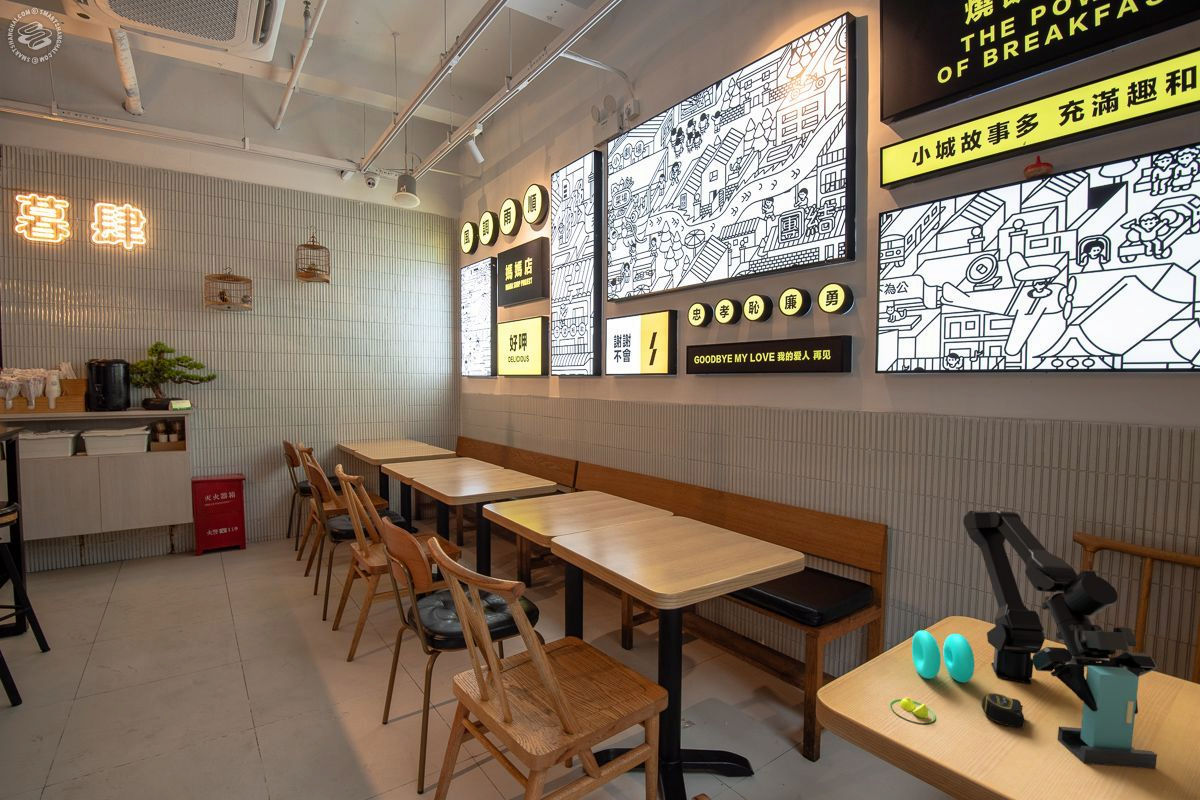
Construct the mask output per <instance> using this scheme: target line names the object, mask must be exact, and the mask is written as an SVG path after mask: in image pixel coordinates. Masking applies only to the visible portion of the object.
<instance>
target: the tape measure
mask: <svg viewBox="0 0 1200 800" xmlns="http://www.w3.org/2000/svg"><path fill="white" fill-rule="evenodd" d="M1023 707H1024V705H1022V703H1021V701H1020V700H1019V699H1016V698H1010V697H1008V696H1006V695H1003V694H1000V693H996V692H990V693H988V692H987V693H986V694H985V695H984V696H983V698H982V701H981V708H982V711H983V712H984V714H985V716H987V718H989V719H991V720H992V721H994V722H996V723H999V724H1001V725H1005V726H1011V727H1014V728H1015V727H1016V728H1023V727H1024V726H1025V715H1024V713H1023Z"/></svg>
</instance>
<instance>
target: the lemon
mask: <svg viewBox="0 0 1200 800" xmlns="http://www.w3.org/2000/svg"><path fill="white" fill-rule="evenodd" d="M899 701H900V702H899ZM898 702H899V707H900V708H901V709H902V708H903V710H904V711H907V712H912V713H913V714H914V715H915V716H917V718H922V719H923V718H924V719H928V718H929V716H928V714H929V713H930V714H931V715H932V720H931V721H929V722H928V724H930V723H933V722H934V721H935V720H936V714H935V713H934V711H932V710H931V709H930V708H929V707H928V706H927V705H926V704H925V703H922V704H921V703H920V702H917V701H914V700H912V699H911V698H910V697H909V696H907V697H904V698H901V699H895V700H892V701H891V702H890V708H891V710H892V711H893V712H894V713H895V715H898V713H897V712H896V711H895V710H894V708H893V709H892V707H893V706H892V705H894V704H896V703H898ZM916 705H918V706H917V707H916Z"/></svg>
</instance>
